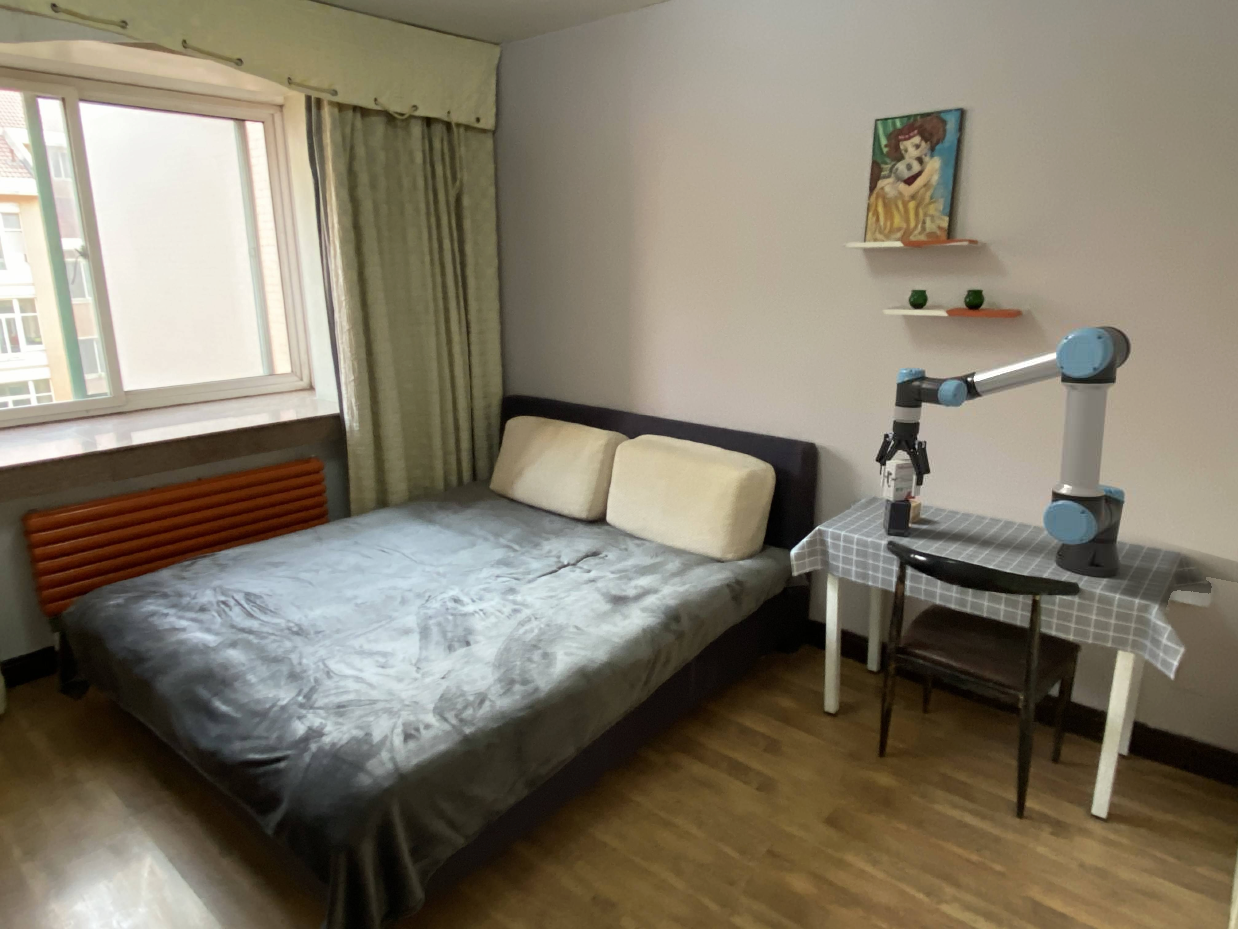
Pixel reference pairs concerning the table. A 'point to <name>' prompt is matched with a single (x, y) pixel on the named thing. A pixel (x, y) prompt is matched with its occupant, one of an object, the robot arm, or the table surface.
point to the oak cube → (914, 511)
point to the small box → (897, 517)
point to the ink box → (899, 480)
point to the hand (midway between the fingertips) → (899, 490)
